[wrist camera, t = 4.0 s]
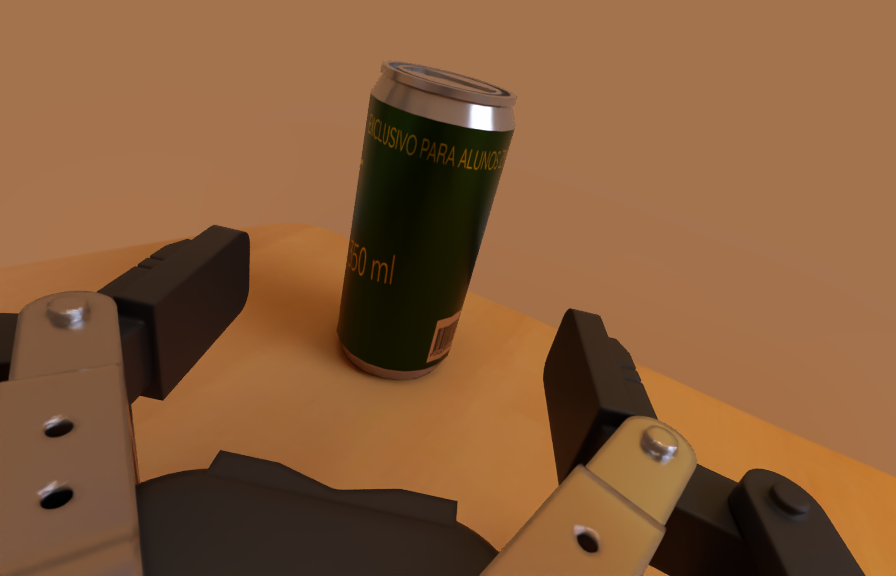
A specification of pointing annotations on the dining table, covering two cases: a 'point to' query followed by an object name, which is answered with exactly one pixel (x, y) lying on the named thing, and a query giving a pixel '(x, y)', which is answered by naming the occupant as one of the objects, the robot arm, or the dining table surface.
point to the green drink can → (420, 214)
